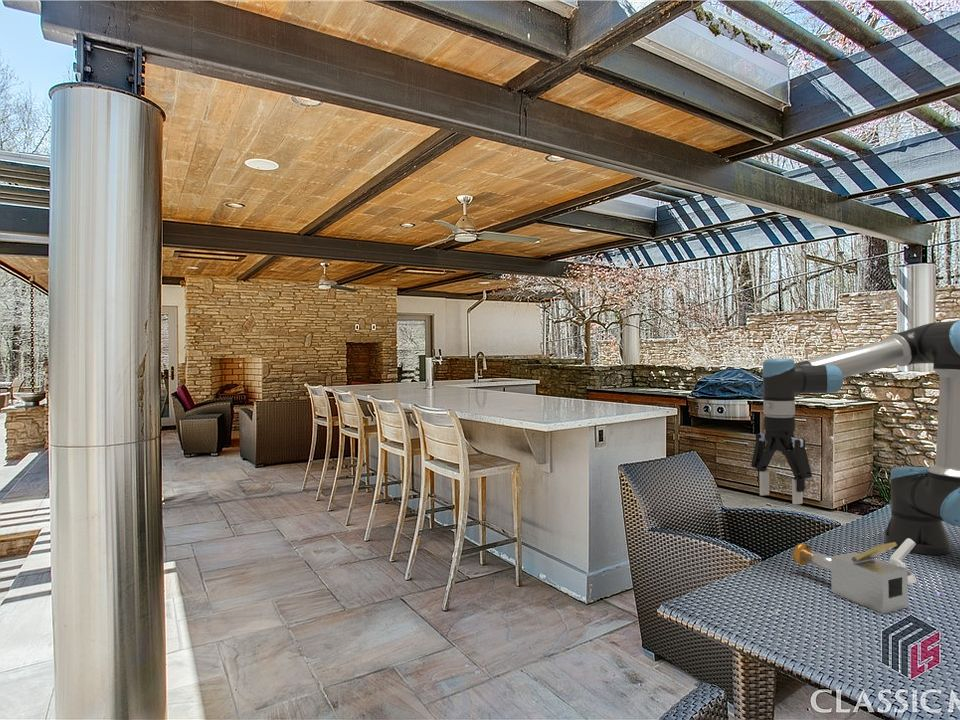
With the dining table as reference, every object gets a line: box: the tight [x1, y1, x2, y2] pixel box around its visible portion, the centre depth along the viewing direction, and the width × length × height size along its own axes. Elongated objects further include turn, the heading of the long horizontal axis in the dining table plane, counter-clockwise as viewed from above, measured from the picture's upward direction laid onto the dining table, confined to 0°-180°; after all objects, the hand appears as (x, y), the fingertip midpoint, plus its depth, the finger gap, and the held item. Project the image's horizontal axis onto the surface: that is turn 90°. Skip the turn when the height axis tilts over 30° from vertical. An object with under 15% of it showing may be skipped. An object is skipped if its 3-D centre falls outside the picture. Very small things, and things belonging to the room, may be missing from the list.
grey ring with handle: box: [887, 538, 918, 585], centre depth 141 cm, size 8×12×7 cm
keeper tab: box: [852, 542, 897, 562], centre depth 127 cm, size 6×8×1 cm
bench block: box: [830, 551, 909, 614], centre depth 129 cm, size 8×12×8 cm, turn 20°
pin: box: [792, 542, 832, 572], centre depth 140 cm, size 5×12×5 cm, turn 20°
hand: (780, 499), depth 151 cm, fingers open, 10 cm apart
